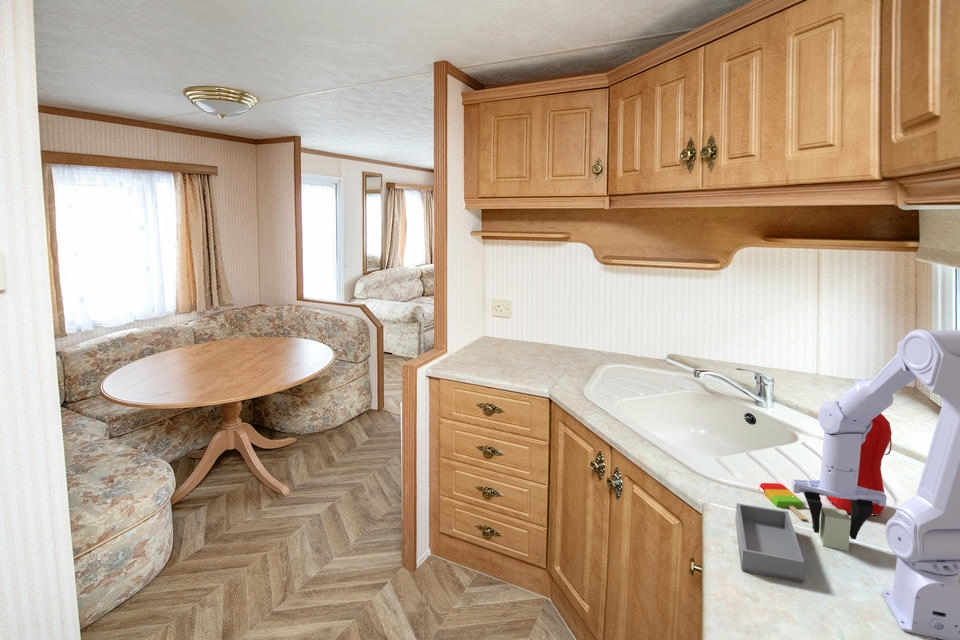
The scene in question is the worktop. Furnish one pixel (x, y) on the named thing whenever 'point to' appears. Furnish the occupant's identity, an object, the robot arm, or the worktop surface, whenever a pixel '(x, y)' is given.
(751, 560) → the bin
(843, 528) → the sage block
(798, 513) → the popsicle
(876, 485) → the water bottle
